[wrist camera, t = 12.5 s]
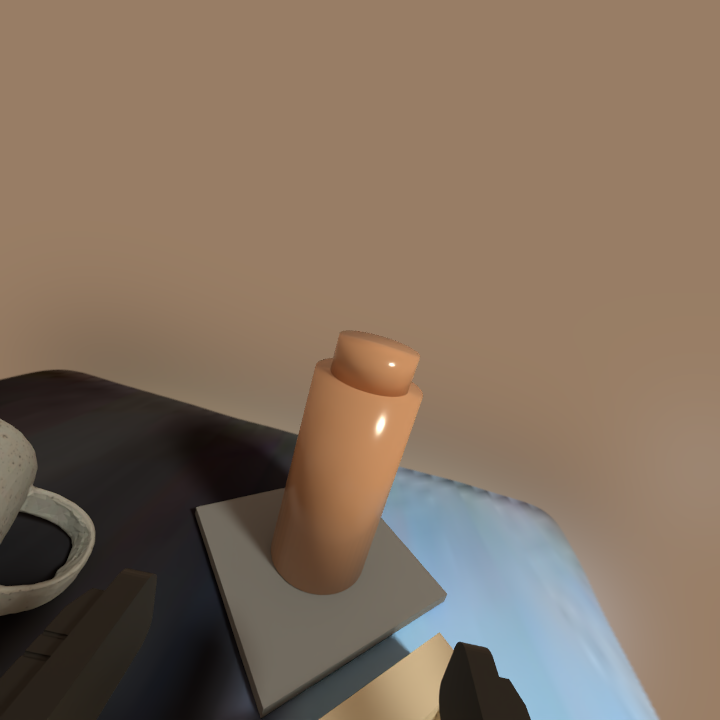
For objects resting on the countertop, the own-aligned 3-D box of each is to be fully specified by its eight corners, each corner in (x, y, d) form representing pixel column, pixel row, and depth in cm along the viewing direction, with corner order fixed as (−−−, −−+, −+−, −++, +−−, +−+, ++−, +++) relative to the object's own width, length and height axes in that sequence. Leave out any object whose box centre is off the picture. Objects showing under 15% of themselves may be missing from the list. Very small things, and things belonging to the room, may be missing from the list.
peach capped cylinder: (360, 607, 19) (443, 376, 16) (256, 578, 19) (314, 340, 16) (366, 518, 26) (425, 343, 22) (289, 496, 26) (335, 317, 22)
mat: (260, 718, 14) (263, 709, 14) (194, 514, 23) (196, 507, 23) (444, 601, 22) (447, 593, 22) (342, 480, 31) (343, 474, 31)
